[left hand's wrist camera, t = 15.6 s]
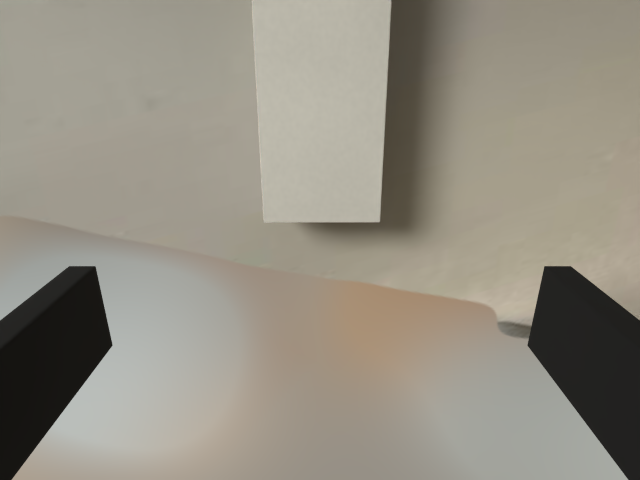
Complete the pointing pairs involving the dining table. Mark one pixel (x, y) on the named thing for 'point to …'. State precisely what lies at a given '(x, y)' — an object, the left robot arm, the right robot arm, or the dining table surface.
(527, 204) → the dining table surface
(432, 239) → the dining table surface
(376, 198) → the wide beam
